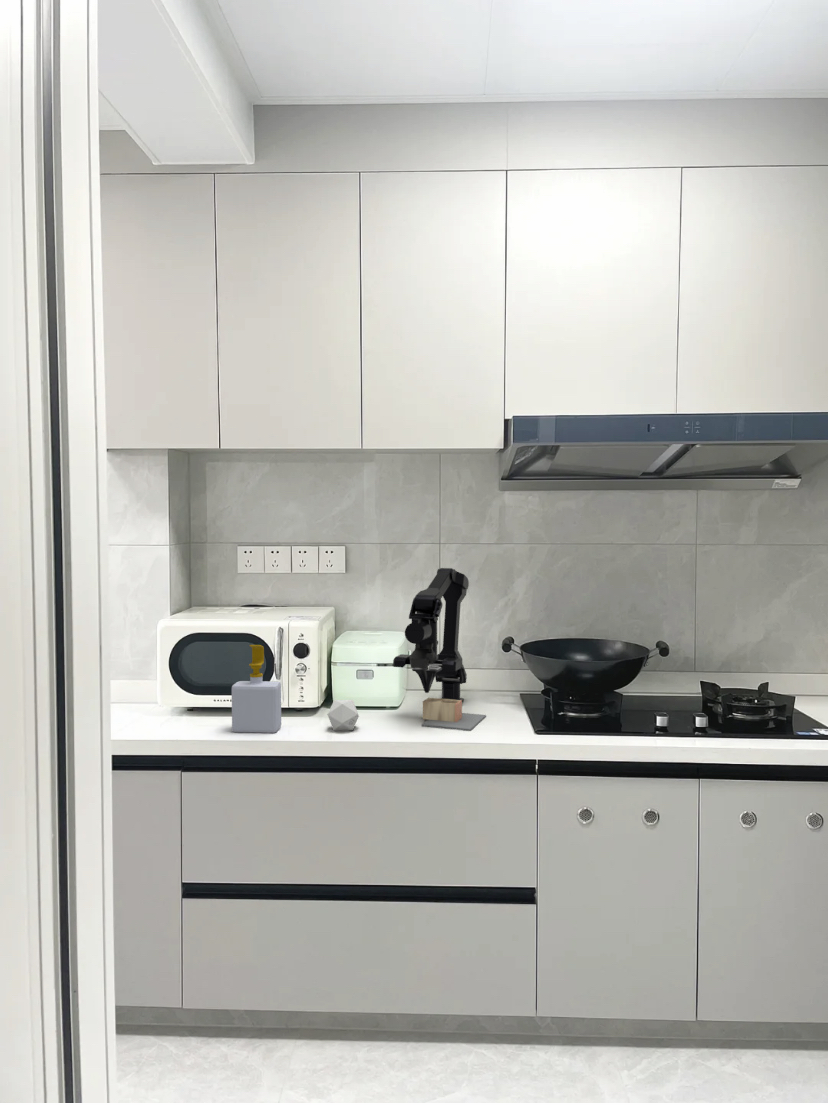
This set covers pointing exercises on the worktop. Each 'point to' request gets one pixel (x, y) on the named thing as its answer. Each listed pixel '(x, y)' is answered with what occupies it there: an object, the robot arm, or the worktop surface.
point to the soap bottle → (256, 700)
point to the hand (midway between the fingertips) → (426, 692)
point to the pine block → (442, 709)
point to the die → (343, 715)
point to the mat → (464, 723)
